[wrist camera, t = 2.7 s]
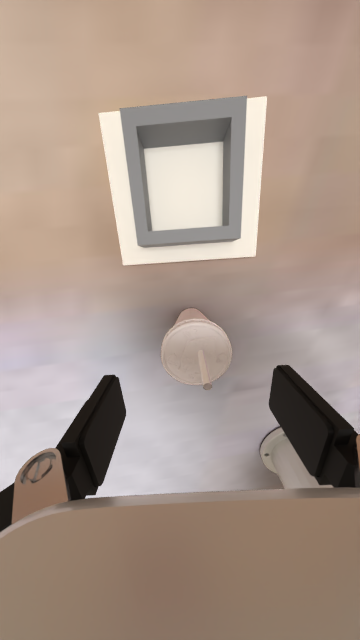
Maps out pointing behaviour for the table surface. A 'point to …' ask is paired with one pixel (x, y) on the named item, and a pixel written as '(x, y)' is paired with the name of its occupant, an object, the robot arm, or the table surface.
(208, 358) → the smoothie
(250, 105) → the socket board
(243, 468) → the table surface
